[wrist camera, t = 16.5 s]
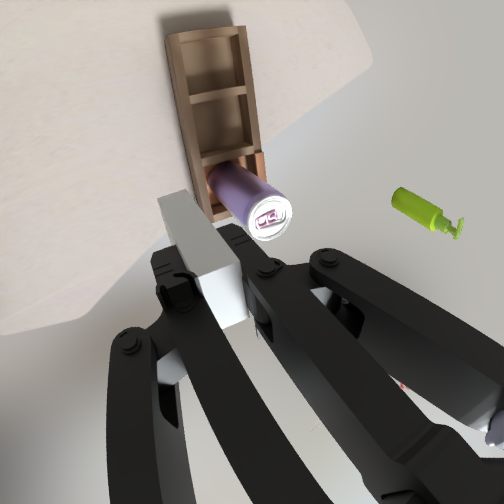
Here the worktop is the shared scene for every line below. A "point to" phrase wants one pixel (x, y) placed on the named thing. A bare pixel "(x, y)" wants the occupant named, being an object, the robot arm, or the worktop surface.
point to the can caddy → (215, 106)
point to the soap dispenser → (424, 212)
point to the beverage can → (250, 200)
